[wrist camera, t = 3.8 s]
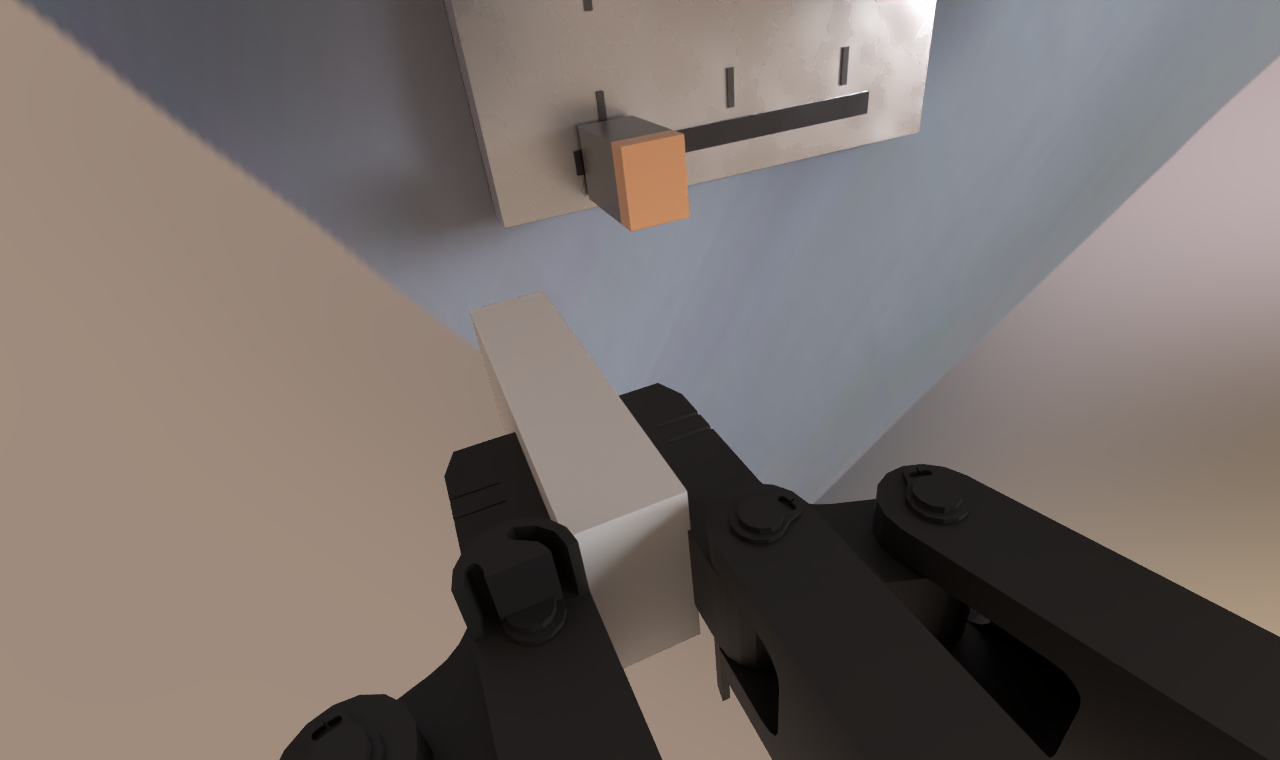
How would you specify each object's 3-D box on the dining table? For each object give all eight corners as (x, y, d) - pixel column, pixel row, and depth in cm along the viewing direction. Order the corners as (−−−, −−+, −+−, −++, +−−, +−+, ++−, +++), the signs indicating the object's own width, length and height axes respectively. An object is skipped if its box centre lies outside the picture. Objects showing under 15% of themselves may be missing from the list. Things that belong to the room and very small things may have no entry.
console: (413, -124, 21) (418, -136, 19) (923, -163, 27) (961, -175, 25) (496, 215, 28) (505, 228, 26) (891, 126, 33) (920, 132, 32)
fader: (577, 126, 25) (621, 146, 21) (632, 115, 26) (683, 133, 22) (589, 199, 27) (631, 231, 23) (640, 187, 27) (689, 217, 23)
